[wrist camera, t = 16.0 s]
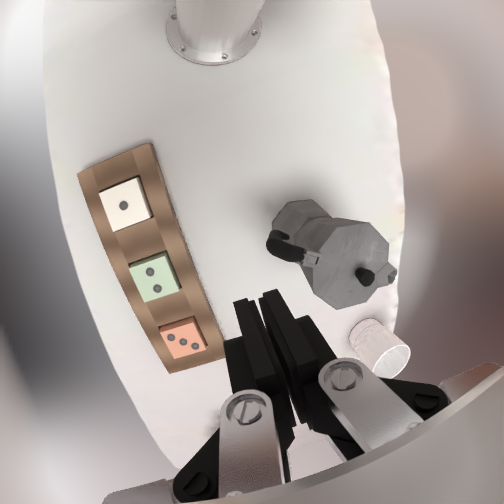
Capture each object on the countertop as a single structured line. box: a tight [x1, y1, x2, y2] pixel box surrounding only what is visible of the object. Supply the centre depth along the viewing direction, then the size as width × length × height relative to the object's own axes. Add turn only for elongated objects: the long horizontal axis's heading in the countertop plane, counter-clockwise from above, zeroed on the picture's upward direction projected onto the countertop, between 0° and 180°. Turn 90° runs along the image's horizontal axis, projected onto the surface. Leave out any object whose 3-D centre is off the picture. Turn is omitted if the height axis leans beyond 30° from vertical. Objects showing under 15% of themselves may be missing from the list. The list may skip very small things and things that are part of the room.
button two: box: [129, 250, 180, 303], centre depth 37 cm, size 5×5×3 cm
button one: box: [99, 177, 153, 232], centre depth 33 cm, size 5×5×3 cm
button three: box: [160, 315, 206, 359], centre depth 40 cm, size 5×5×3 cm
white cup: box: [349, 318, 410, 379], centre depth 46 cm, size 8×8×10 cm
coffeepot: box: [266, 200, 397, 310], centre depth 33 cm, size 15×9×18 cm, turn 74°
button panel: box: [77, 143, 226, 374], centre depth 38 cm, size 32×10×3 cm, turn 16°
